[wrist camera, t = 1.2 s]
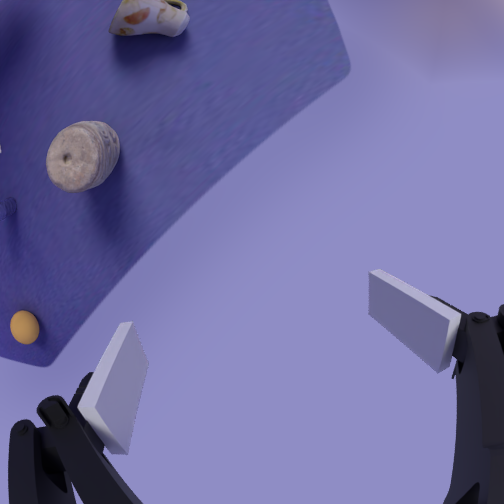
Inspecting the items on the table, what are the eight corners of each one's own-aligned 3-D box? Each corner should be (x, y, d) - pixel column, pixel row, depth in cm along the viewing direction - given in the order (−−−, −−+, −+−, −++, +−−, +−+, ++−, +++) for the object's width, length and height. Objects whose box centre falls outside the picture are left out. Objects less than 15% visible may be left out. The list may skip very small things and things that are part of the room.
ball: (12, 307, 33) (0, 326, 28) (33, 301, 34) (21, 320, 29) (27, 333, 35) (18, 353, 30) (48, 327, 36) (39, 348, 31)
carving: (84, 185, 31) (51, 207, 20) (74, 131, 28) (35, 130, 17) (128, 172, 32) (110, 188, 22) (118, 117, 29) (95, 106, 18)
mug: (183, 53, 28) (139, 35, 19) (131, 41, 28) (84, 28, 20) (208, 7, 25) (171, -22, 16) (153, -1, 25) (110, -22, 16)
